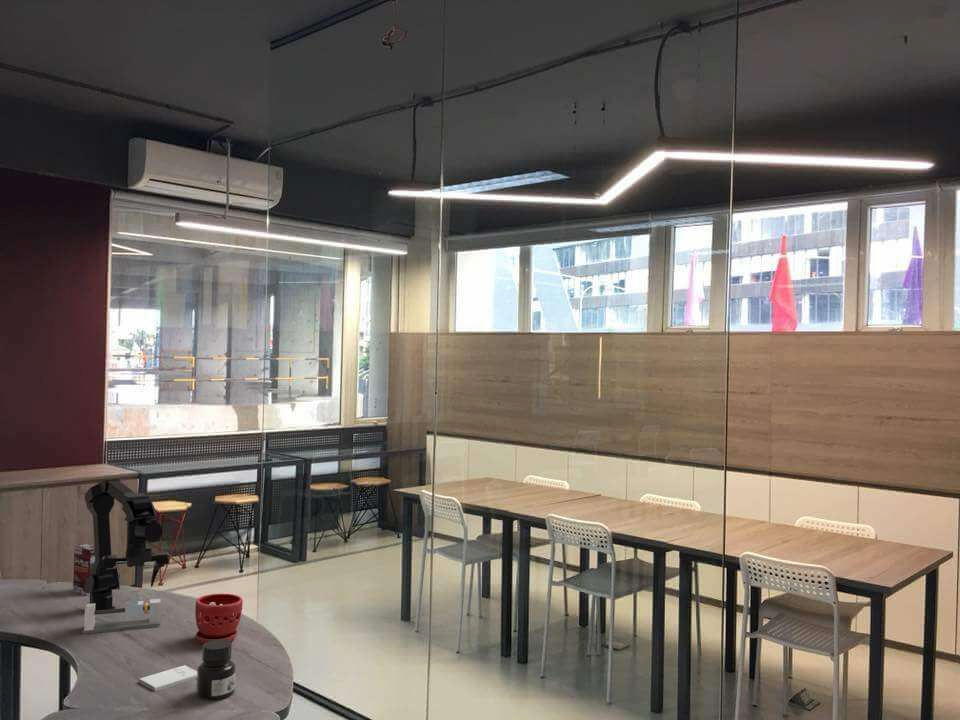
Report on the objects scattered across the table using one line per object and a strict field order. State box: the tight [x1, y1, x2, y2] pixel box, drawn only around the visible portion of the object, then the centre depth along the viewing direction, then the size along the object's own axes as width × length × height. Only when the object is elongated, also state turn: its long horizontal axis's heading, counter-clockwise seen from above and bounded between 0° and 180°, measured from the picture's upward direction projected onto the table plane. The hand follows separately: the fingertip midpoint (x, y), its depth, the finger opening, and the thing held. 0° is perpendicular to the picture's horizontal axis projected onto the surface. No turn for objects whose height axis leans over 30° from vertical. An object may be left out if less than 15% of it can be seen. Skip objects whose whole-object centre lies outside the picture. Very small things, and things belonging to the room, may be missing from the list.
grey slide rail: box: [82, 598, 161, 635], centre depth 236 cm, size 21×7×7 cm, turn 113°
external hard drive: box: [138, 664, 197, 692], centre depth 197 cm, size 2×8×12 cm
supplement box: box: [72, 543, 95, 596], centre depth 270 cm, size 9×5×16 cm, turn 62°
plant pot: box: [194, 593, 244, 644], centre depth 227 cm, size 13×13×12 cm
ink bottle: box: [196, 640, 236, 701], centre depth 190 cm, size 10×9×12 cm
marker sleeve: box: [124, 588, 144, 618], centre depth 237 cm, size 5×4×8 cm
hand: (135, 587), depth 237 cm, fingers open, 9 cm apart
